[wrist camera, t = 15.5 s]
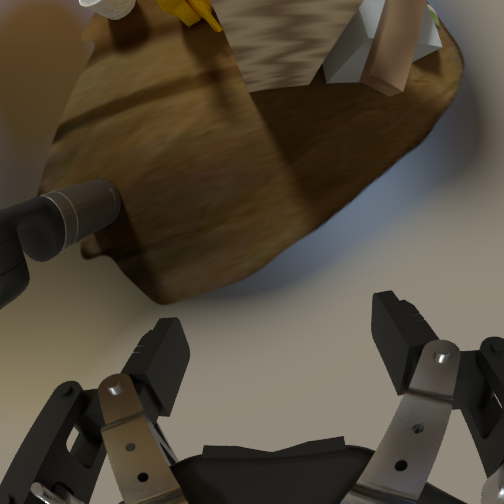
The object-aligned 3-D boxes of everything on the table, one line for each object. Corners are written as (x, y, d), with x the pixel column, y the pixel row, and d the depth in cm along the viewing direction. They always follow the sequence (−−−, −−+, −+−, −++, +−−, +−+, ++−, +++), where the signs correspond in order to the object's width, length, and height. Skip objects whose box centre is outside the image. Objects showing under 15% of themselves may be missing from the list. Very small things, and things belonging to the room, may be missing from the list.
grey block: (326, 83, 40) (368, 38, 19) (304, -2, 34) (322, -75, 13) (375, 82, 39) (442, 47, 18) (352, -1, 33) (391, -65, 12)
